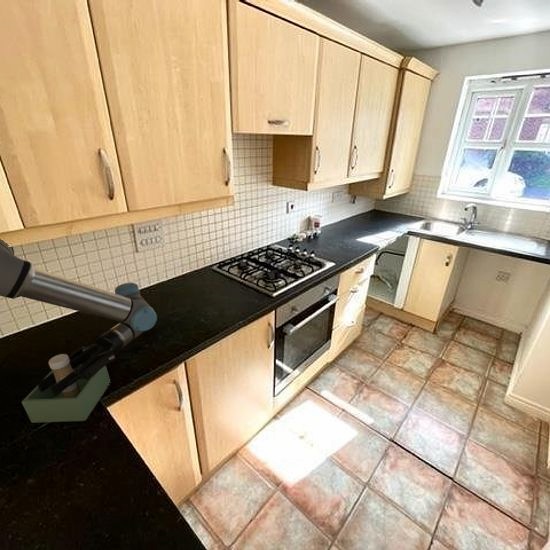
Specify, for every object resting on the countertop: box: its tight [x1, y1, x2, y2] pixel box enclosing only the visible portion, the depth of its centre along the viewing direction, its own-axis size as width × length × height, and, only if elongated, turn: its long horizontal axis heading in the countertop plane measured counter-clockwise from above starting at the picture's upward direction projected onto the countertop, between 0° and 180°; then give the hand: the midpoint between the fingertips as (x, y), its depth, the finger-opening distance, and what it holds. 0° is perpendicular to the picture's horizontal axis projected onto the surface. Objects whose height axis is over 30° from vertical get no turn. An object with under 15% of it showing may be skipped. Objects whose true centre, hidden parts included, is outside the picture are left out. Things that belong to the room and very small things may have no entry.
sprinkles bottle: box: [48, 353, 81, 398], centre depth 85 cm, size 5×5×14 cm
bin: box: [21, 363, 112, 424], centre depth 87 cm, size 15×15×8 cm
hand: (46, 389), depth 80 cm, fingers closed on sprinkles bottle, 4 cm apart
